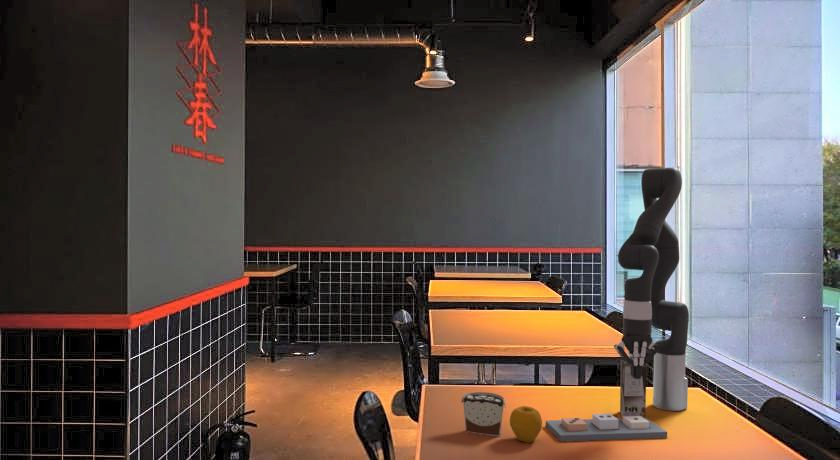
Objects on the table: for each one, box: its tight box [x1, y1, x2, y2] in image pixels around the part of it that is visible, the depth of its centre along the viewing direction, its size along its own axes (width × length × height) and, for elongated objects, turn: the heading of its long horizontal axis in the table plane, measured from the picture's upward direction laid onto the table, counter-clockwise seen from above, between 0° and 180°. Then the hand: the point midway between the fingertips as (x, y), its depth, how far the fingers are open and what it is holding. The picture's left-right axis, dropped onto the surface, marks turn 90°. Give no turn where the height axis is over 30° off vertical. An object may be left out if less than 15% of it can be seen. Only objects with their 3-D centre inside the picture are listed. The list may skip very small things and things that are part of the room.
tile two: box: [591, 413, 618, 430], centre depth 172 cm, size 5×5×3 cm
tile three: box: [561, 417, 587, 431], centre depth 171 cm, size 5×5×3 cm
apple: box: [509, 405, 543, 443], centre depth 165 cm, size 9×8×9 cm
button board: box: [545, 417, 668, 442], centre depth 172 cm, size 30×12×2 cm, turn 98°
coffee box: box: [619, 359, 648, 418], centre depth 186 cm, size 9×6×16 cm
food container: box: [460, 391, 507, 438], centre depth 172 cm, size 12×6×10 cm, turn 71°
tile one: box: [622, 416, 649, 429], centre depth 173 cm, size 5×5×3 cm
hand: (636, 378), depth 173 cm, fingers closed
